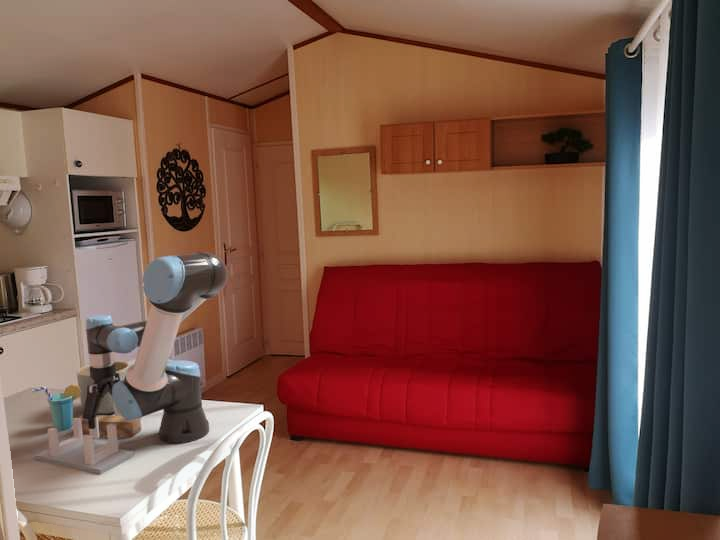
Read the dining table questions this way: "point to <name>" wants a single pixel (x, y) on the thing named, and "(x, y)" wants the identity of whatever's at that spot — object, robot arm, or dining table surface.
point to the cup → (62, 406)
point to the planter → (86, 380)
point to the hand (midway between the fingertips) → (107, 428)
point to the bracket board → (84, 450)
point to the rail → (122, 425)
